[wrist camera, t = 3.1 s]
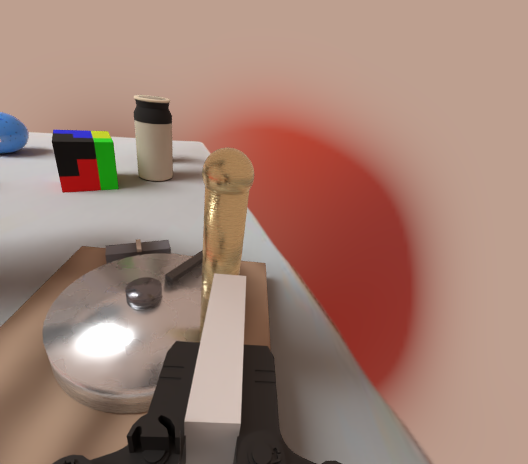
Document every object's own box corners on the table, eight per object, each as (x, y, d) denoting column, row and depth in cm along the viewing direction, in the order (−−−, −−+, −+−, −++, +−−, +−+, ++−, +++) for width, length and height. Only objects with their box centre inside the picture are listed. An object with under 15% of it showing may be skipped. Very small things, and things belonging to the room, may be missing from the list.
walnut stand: (-117, 493, 17) (-175, 443, 15) (85, 264, 38) (78, 226, 36) (271, 500, 20) (286, 457, 17) (262, 280, 41) (268, 245, 38)
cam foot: (7, 344, 24) (-94, 104, 15) (162, 255, 37) (156, 103, 29) (154, 469, 18) (127, 192, 9) (275, 309, 31) (309, 137, 23)
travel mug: (176, 181, 70) (174, 101, 62) (141, 182, 67) (134, 98, 58) (169, 171, 76) (167, 97, 68) (136, 171, 73) (130, 93, 64)
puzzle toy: (63, 176, 64) (53, 129, 59) (112, 174, 69) (107, 131, 64) (62, 192, 57) (51, 141, 52) (118, 189, 62) (113, 142, 57)
